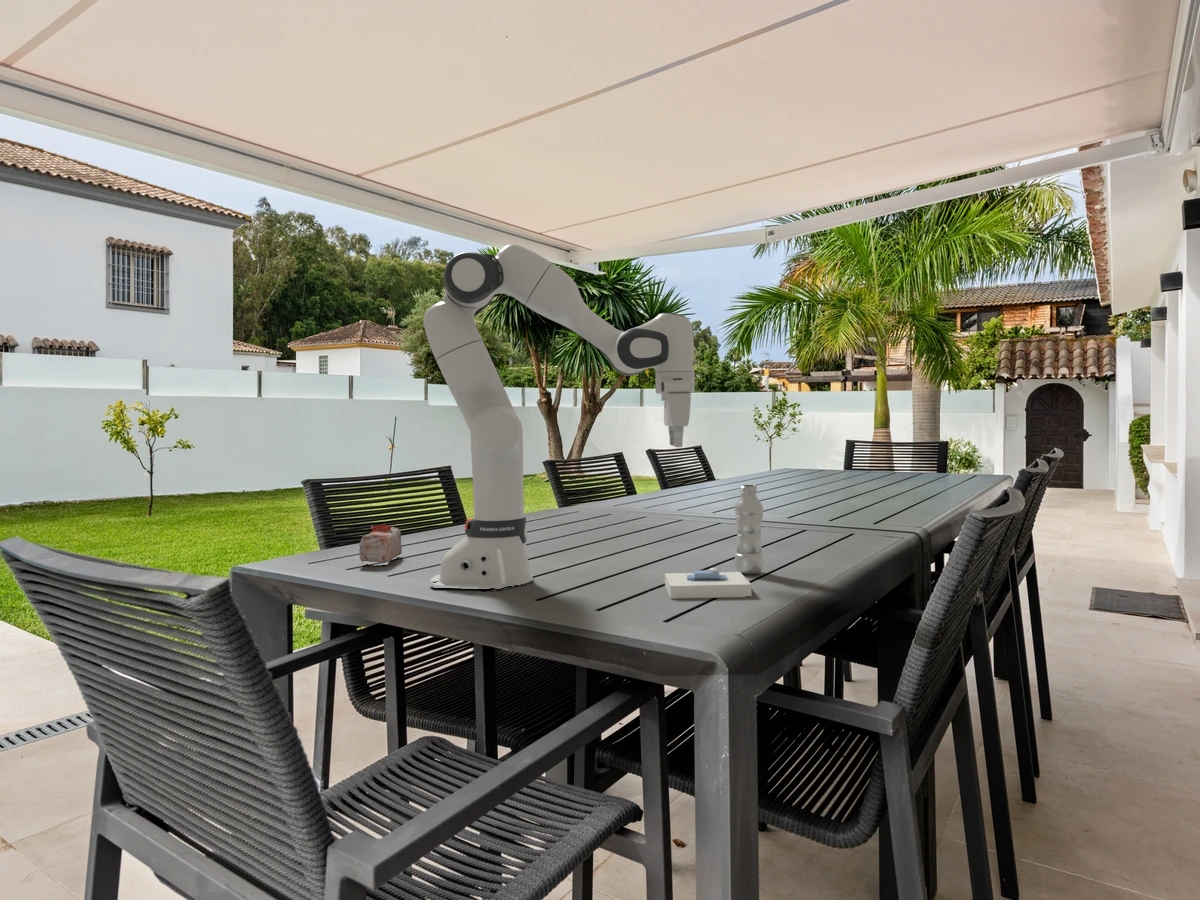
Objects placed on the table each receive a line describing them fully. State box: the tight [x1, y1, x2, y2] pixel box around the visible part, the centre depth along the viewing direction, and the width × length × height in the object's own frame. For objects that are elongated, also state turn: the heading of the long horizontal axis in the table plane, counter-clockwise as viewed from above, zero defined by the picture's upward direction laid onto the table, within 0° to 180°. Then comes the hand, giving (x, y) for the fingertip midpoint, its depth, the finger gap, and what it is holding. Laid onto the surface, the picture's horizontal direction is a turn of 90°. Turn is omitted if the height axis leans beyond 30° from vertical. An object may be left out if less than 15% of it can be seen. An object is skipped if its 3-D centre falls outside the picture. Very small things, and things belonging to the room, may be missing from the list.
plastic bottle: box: [734, 484, 765, 575], centre depth 171 cm, size 6×7×20 cm
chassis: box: [664, 571, 752, 599], centre depth 155 cm, size 16×12×2 cm
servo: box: [687, 567, 727, 581], centre depth 155 cm, size 8×3×5 cm, turn 84°
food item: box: [358, 523, 403, 563], centre depth 194 cm, size 14×8×10 cm, turn 179°
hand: (676, 446), depth 172 cm, fingers open, 8 cm apart
